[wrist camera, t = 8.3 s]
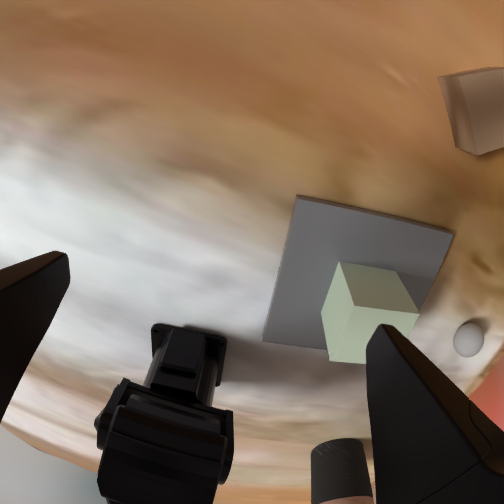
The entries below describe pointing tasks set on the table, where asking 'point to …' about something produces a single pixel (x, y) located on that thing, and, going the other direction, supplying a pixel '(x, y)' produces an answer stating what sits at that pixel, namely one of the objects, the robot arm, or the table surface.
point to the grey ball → (468, 340)
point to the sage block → (363, 309)
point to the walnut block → (475, 108)
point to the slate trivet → (345, 250)
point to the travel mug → (340, 473)
